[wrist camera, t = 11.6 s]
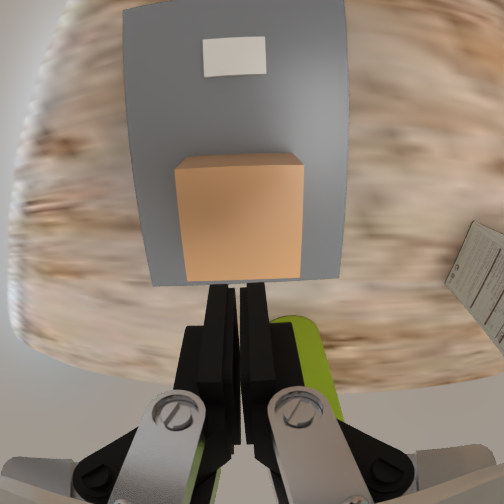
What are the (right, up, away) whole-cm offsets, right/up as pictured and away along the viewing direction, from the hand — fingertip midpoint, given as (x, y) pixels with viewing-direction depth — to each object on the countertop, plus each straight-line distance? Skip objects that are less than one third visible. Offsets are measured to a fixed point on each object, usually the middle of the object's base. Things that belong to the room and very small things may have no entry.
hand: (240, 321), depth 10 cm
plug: (0, +7, +13) cm, 15 cm away
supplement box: (+24, +2, +17) cm, 29 cm away
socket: (-1, +10, +12) cm, 15 cm away
